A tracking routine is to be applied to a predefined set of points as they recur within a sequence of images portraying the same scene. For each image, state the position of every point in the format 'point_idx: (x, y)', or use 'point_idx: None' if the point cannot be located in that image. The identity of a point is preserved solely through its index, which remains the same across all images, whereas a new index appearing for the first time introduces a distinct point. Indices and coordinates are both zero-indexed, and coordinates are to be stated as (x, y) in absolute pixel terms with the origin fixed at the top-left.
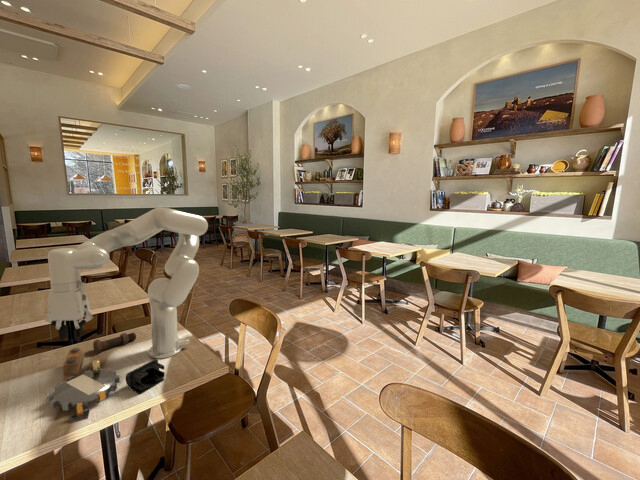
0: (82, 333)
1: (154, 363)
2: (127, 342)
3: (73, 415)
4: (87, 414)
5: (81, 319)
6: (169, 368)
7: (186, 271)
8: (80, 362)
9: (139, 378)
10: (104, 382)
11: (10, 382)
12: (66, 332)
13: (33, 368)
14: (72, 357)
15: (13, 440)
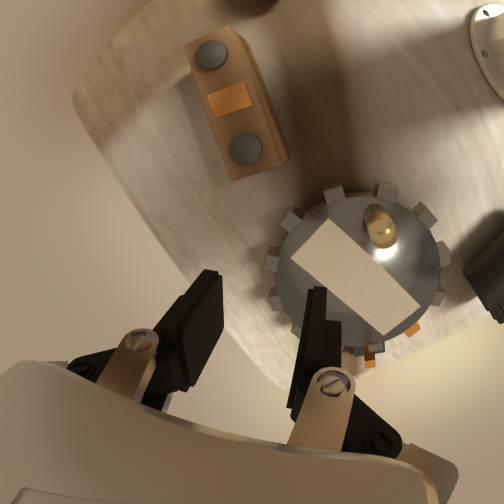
0: (339, 330)
1: None
2: None
3: None
4: (383, 347)
5: (331, 447)
6: None
7: None
8: (265, 104)
9: (500, 323)
10: (413, 283)
11: (112, 158)
12: (206, 314)
13: (119, 91)
14: (233, 114)
15: (268, 366)
